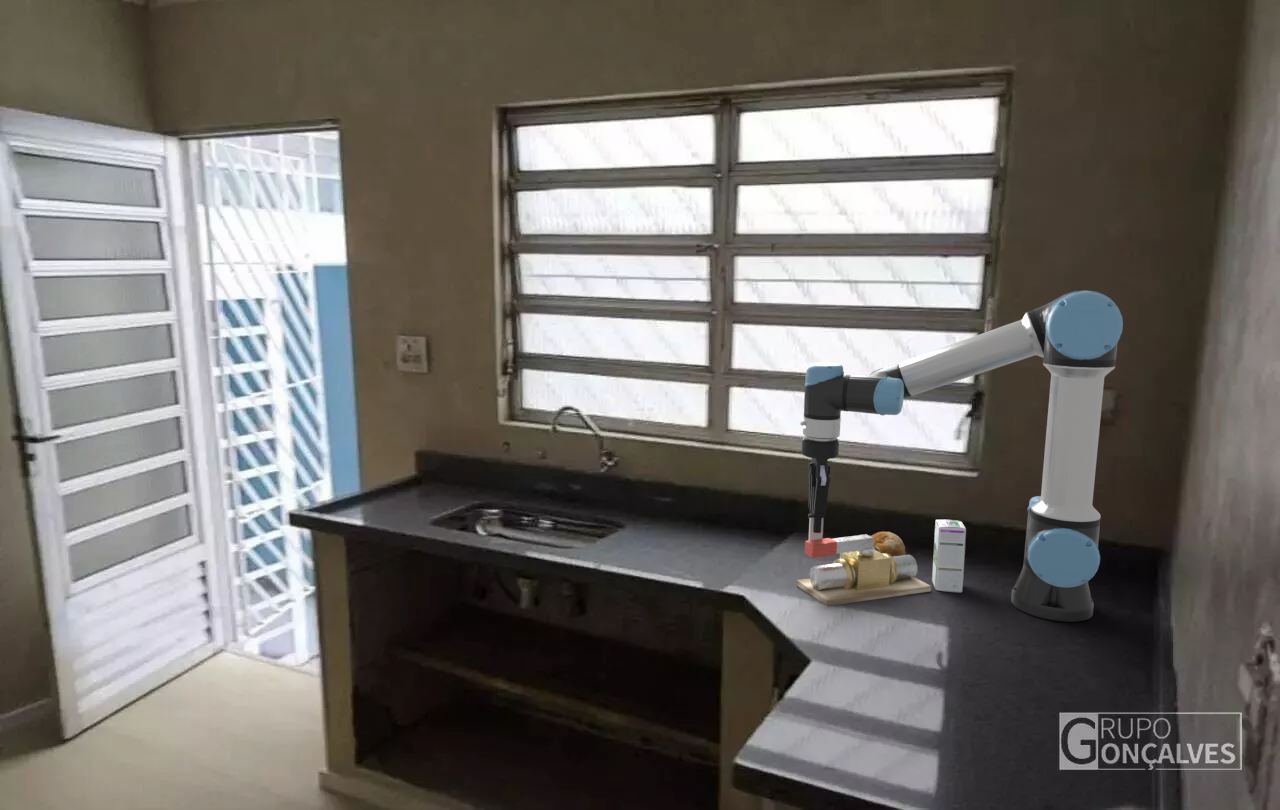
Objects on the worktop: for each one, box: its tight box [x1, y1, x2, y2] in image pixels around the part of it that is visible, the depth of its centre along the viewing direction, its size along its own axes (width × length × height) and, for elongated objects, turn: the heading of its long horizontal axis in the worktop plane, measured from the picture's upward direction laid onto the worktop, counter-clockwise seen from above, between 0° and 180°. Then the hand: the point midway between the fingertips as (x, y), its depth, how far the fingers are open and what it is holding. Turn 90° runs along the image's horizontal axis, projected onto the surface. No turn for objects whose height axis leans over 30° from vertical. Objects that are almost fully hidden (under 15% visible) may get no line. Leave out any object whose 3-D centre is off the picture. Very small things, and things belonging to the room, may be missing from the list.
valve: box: [809, 550, 918, 591], centre depth 178 cm, size 24×7×7 cm, turn 110°
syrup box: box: [931, 519, 967, 593], centre depth 179 cm, size 6×6×14 cm
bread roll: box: [870, 531, 907, 557], centre depth 199 cm, size 10×10×8 cm
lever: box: [804, 533, 874, 559], centre depth 175 cm, size 16×4×4 cm, turn 112°
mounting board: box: [795, 576, 932, 607], centre depth 179 cm, size 12×26×1 cm, turn 110°
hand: (815, 545), depth 175 cm, fingers closed
